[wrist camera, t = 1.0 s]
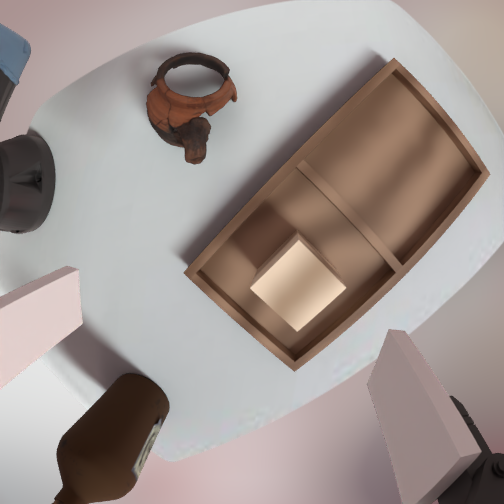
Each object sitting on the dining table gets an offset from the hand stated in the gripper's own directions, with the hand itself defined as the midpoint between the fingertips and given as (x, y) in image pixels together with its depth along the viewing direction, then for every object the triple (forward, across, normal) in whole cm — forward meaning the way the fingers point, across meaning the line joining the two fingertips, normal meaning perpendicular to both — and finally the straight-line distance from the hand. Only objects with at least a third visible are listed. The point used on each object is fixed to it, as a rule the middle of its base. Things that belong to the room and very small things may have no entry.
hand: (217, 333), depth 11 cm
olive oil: (+21, -14, -28) cm, 38 cm away
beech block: (+20, +4, -3) cm, 21 cm away
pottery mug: (+22, -9, +12) cm, 26 cm away
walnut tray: (+21, +9, +4) cm, 23 cm away
